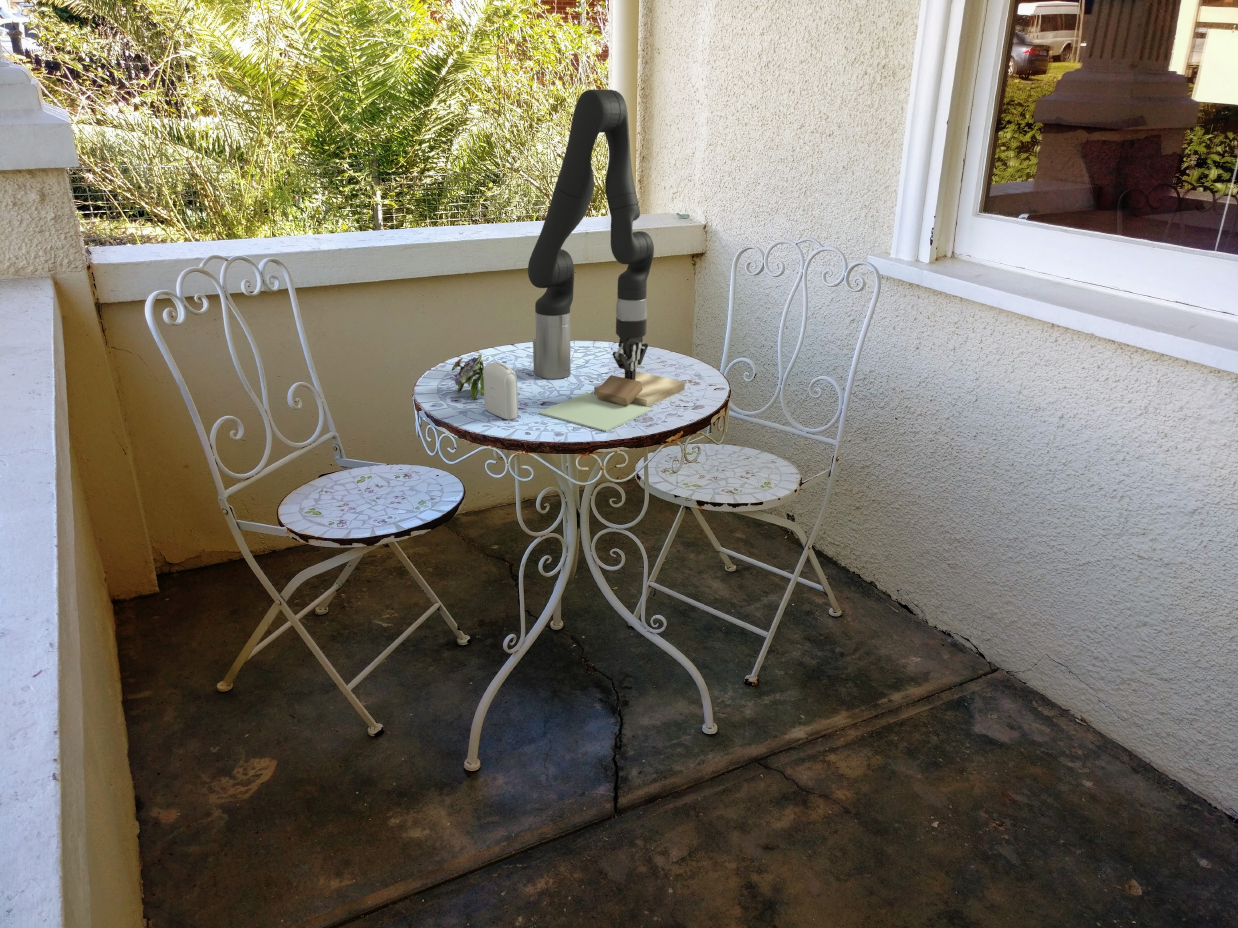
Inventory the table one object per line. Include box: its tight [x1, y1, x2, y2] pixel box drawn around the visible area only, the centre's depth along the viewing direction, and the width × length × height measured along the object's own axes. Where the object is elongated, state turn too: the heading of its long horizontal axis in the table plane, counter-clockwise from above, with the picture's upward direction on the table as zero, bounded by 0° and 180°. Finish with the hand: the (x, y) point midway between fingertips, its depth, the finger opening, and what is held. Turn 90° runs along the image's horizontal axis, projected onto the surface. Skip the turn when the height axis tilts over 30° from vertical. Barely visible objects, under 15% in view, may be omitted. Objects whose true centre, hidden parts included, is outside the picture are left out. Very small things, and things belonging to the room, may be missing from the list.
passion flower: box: [451, 353, 485, 401], centre depth 224 cm, size 11×11×12 cm
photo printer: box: [483, 361, 519, 420], centre depth 208 cm, size 10×4×12 cm, turn 39°
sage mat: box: [538, 391, 653, 433], centre depth 213 cm, size 20×19×1 cm
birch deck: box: [593, 370, 686, 408], centre depth 227 cm, size 16×18×2 cm
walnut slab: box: [596, 374, 643, 406], centre depth 219 cm, size 9×7×2 cm
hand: (629, 383), depth 223 cm, fingers closed
